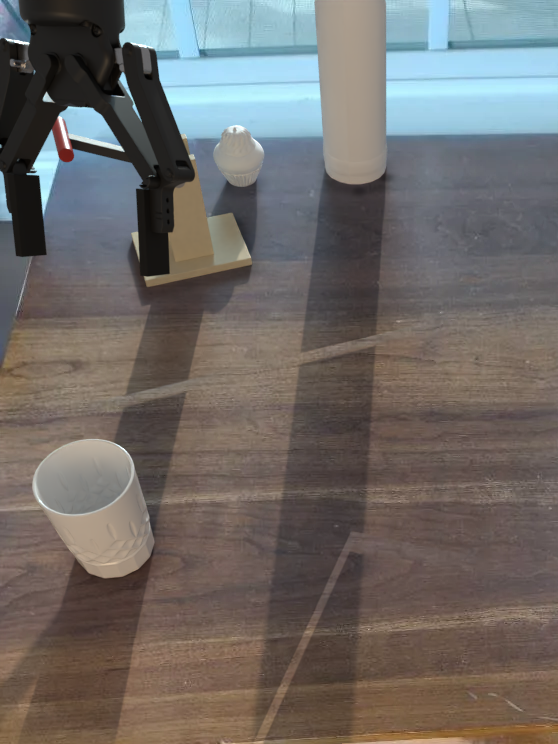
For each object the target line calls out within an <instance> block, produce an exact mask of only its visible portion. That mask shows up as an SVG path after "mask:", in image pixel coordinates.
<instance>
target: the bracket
mask: <svg viewBox="0 0 558 744" xmlns="http://www.w3.org/2000/svg"><path fill="white" fill-rule="evenodd" d="M180 134H181V137H182V139H183V142H184V145H185V147H186V150H187V152H188V155H189V158H190V160H191V163H192V165H193V168H194V171H195V178H194V180H193V181H192V182H185V183H183V184H180V185H178V186H176V187H175V189H174V192H173V201H174V229H173V232H172V233H168V239H169V266H170V274H165V275H157V276H150V277H146V276H143V279H144V282H145V285H146V286H145V287H147V288H150V287H155V286H160V285H164V284H169V283H173V282H179V281H182V280H183V281H184V280H187V279H191V278H196V277H200V276H205V275H210V274H215V273H219V272H224V271H229V270H233V269H238V268H242V267H249V266H252V265H253V260H252V256H251V253H250V252H249V249H248V247H247V244H246V242H245V239H244V238H243V235H242V232H241V230H240V227H239V225H238V223H237V221H236V218H235V215H234V213H233V212H228V213H223V214H218V215H213V216H208V217H207V210H206V206H205V201H204V196H203V190H202V186H201V180H200V176H199V172H198V166H197V165H198V164H197V160H196V157H195V154H194V153H192V154H191V151H190V147H189V141H188V138H187V135H186V133H180ZM130 236H131V240H132V243H133V246H134V249H135V253H136V255H137V259H138V262H139V264H140V260H139V240H138V231H134V232H131V233H130Z"/></svg>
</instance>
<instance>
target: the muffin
mask: <svg viewBox="0 0 558 744" xmlns="http://www.w3.org/2000/svg"><path fill="white" fill-rule="evenodd" d="M220 136H221V137H220V140H219V142H218V143H217V144H216V145H215V147H214V149H213V153H212V158H213V161H214V163H215V164H216V166H217V169H218V170H219V172H220V173H221V174H222V175H223V177H224V178H225V179H226V180H227V182H228V183H229V184H230V185H232V186H234V187H239V188H243V187H244V188H245V187H249V186H251V185H253V184H255V182H256V181H257V179H258V176H259V174H260V172H261V170H262V167H263V164H264V163H263V162H264V159H265V151H264V148H263V147H262V145H261V144H260V142H258V141H257V140H256V139H254V138H253V136H252V134H251V132H250V131H249V130H248V128H247V127H244V126H242V125H237V124H235V125H231V126H227V127H226V128H224V129H223V131H222V132H221V134H220Z"/></svg>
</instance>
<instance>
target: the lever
mask: <svg viewBox="0 0 558 744" xmlns="http://www.w3.org/2000/svg"><path fill="white" fill-rule="evenodd" d="M51 131H52V132H51V133H52V136H53V140H54V144H55V149H56V152H57V156H58V159H59V160H60V161H61V162H63V163H70V162H71V163H72V161H73V160H74V158H75V153H74V150H75V151H79V152H83V153H87V154H92V155H96V156H100V157H104V158H109V159H113V160H116V161H121V162H124V163H125V162H126V163H130V164H132V163H131V161H130V160H129V158H128V156H127V155H126V153H125V152H124V150H123V148H122V147H121V145H117V144H113V143H110V142H106V141H102V140H97V139H93V138H90V137H86V136H81V135H77V134H73V133H70V132H69V131H68V126H67V123H66V119H64V118H63V117H62V116H60V115H59V116H58V118H57V120H56V122H55V124H54V126H53V128H52V130H51Z"/></svg>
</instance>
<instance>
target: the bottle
mask: <svg viewBox="0 0 558 744" xmlns="http://www.w3.org/2000/svg"><path fill="white" fill-rule="evenodd" d="M313 6H314V17H315V18H314V22H315V33H316V49H317V64H318V67H317V68H318V80H319V81H318V82H319V95H320V98H319V99H320V109H321V110H320V112H321V127H322V155H323V160H324V169H325V173H326V174H327V175H328V176H329V177H330V179H332V180H335V181H337V182H339V183H343V184H347V185H363V184H368V183H372V182H374V181H376V180H378V179H380V178H381V177H382V176H383V175H384V174H385V173H386V169H387V158H388V144H387V1H386V0H314V5H313Z"/></svg>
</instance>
